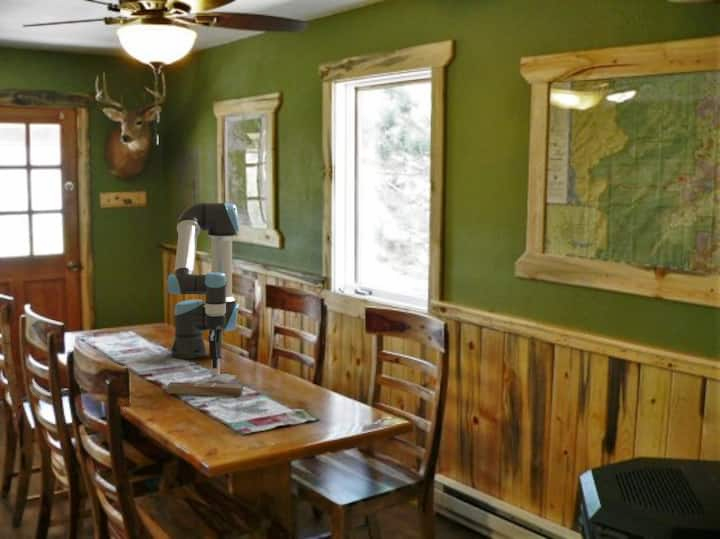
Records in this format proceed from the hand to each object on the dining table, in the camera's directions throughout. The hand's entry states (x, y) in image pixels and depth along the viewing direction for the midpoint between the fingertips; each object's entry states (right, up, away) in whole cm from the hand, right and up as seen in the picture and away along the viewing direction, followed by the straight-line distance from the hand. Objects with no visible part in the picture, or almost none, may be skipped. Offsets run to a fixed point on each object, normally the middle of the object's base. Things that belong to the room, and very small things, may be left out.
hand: (215, 375), depth 294 cm
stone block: (+3, -3, -6) cm, 8 cm away
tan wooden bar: (-1, -4, -16) cm, 16 cm away
